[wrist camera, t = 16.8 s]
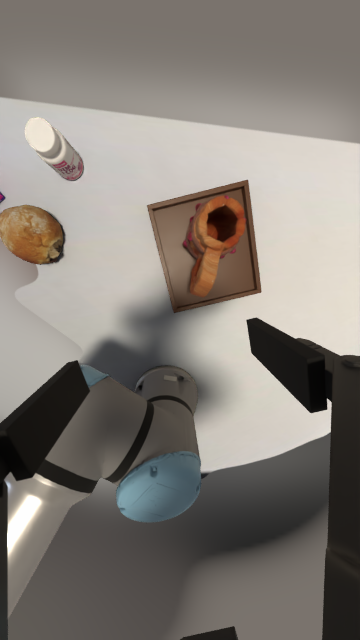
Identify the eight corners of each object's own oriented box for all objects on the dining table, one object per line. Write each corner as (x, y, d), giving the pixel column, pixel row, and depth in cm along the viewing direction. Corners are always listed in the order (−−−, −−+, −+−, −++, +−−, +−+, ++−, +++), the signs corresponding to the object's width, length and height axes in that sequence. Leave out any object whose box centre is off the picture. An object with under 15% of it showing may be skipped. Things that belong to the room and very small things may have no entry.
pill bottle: (73, 187, 36) (44, 163, 27) (51, 166, 35) (14, 135, 26) (89, 165, 35) (64, 134, 27) (66, 143, 34) (33, 103, 26)
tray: (257, 291, 42) (261, 292, 40) (173, 311, 42) (173, 313, 40) (244, 184, 36) (248, 179, 34) (148, 208, 37) (146, 205, 35)
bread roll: (65, 215, 40) (33, 182, 32) (75, 259, 38) (43, 236, 30) (22, 231, 40) (-21, 203, 33) (30, 275, 39) (-14, 256, 31)
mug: (192, 207, 37) (204, 168, 22) (232, 221, 37) (269, 192, 23) (171, 283, 40) (170, 292, 26) (208, 293, 41) (228, 308, 27)
